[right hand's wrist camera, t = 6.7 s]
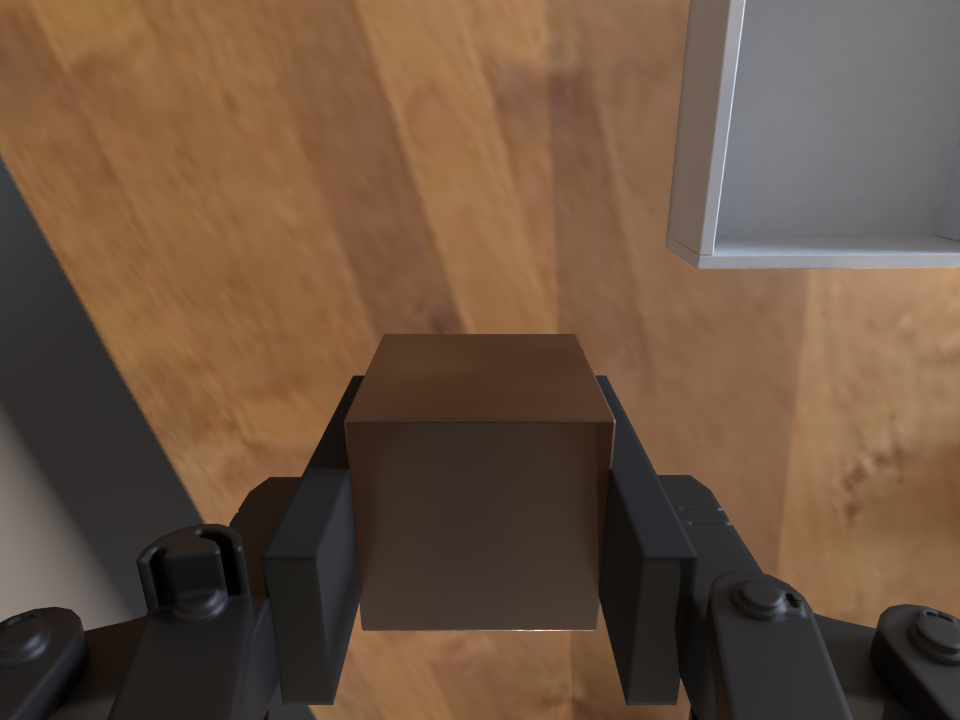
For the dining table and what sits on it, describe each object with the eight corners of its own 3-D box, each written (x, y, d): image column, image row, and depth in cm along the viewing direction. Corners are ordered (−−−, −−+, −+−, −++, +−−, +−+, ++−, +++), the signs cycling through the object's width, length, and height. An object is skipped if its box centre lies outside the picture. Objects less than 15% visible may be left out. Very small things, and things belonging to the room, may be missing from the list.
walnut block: (576, 333, 14) (617, 419, 10) (566, 498, 16) (597, 632, 12) (383, 333, 14) (342, 419, 10) (392, 498, 16) (361, 632, 12)
